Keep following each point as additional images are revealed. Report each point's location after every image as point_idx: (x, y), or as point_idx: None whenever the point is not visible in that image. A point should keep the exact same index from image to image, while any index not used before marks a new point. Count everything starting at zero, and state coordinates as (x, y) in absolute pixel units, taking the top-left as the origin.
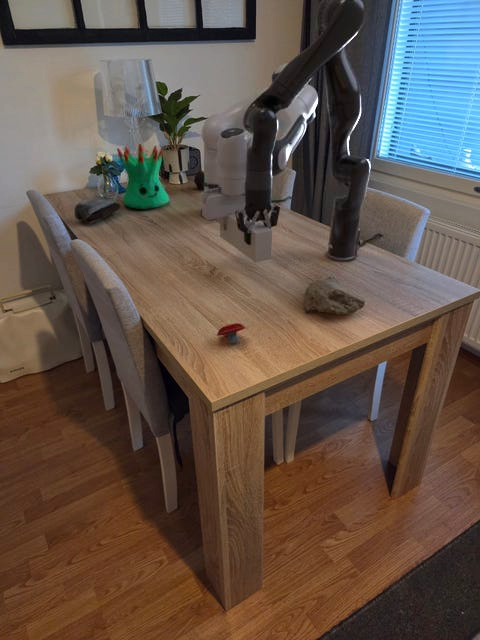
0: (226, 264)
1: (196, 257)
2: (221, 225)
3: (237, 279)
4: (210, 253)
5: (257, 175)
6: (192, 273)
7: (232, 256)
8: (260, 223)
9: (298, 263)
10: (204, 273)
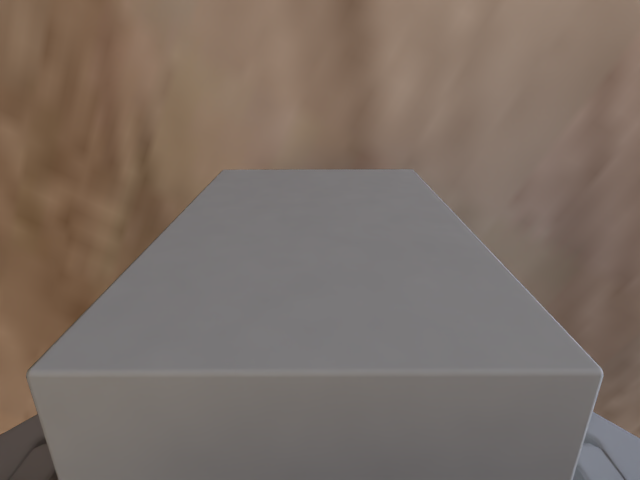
0: None
1: (84, 27)
2: None
3: None
4: (218, 3)
5: None
6: (9, 264)
7: (350, 147)
8: None
9: (627, 407)
10: (82, 295)
